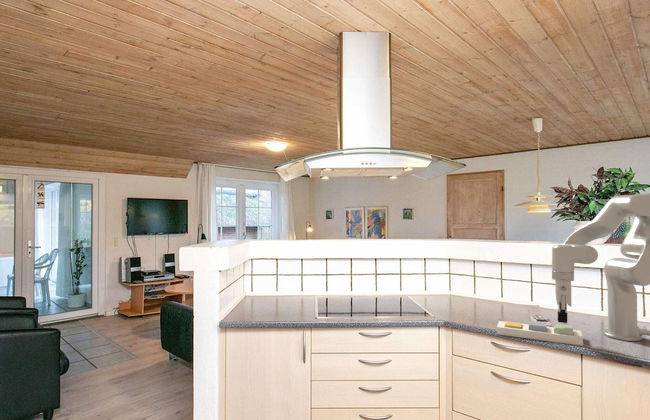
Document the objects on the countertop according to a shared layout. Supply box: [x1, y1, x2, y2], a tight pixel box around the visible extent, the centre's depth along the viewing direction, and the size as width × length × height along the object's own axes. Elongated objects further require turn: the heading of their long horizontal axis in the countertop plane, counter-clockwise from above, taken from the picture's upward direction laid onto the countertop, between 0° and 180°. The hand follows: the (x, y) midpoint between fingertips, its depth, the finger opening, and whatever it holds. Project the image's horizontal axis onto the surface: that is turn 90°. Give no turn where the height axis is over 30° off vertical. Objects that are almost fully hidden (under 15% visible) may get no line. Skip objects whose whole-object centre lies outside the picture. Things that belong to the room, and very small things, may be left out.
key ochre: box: [505, 320, 523, 329], centre depth 163 cm, size 6×6×2 cm
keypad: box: [496, 320, 584, 346], centre depth 159 cm, size 30×10×3 cm, turn 61°
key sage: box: [554, 323, 574, 335], centre depth 154 cm, size 6×6×2 cm
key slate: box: [529, 320, 547, 332], centre depth 159 cm, size 6×6×2 cm
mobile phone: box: [525, 304, 553, 327], centre depth 176 cm, size 6×6×25 cm
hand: (562, 322), depth 154 cm, fingers closed
